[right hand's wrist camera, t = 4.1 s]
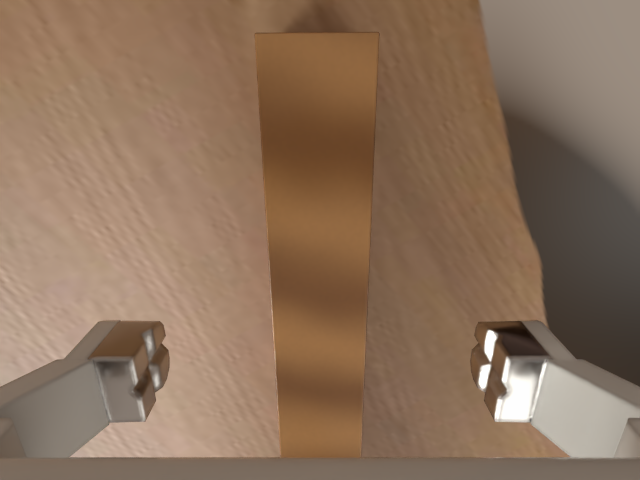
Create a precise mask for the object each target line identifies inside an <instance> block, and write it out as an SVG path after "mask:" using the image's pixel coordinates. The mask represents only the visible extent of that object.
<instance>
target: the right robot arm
mask: <svg viewBox="0 0 640 480" xmlns="http://www.w3.org/2000/svg"><path fill="white" fill-rule="evenodd" d="M165 336H166V335H165V330H164V325H163V324H162V323H161V322H160V321H120V320H112V321H100V322H98V323H97V324H96V325H95V326H94V327H93V328H92V329H91V330H90V331H89V332H88V334H87V335H86V336H85V337H84V338H83V339H82V340H81V341H80V342H79V343H78V344H77V345H76V347H75V348H74V349H73V350H72V351H71V352H70V353H69V354H68V355H67V356H66V357H65V359H64V360H55V361H53V362H51V363H49V364H47V365H45V366H43V367H41V368H39V369H36V370H34V371H32V372H30V373H28V374H26V375H24V376H22V377H20V378H18V379H16V380H14V381H11V382H9V383H7V384H5V385H3V386H1V387H0V480H640V387H639V386H637V385H635V384H632V383H630V382H628V381H626V380H624V379H622V378H620V377H618V376H616V375H614V374H612V373H610V372H608V371H605V370H603V369H601V368H599V367H597V366H595V365H593V364H591V363H589V362H587V361H585V360H576V359H575V358H574V356H573V355H572V354H571V353H570V352H569V351H568V350H567V349H566V348H565V347H564V345H563V344H562V343H561V342H560V341H559V340H558V339H557V338H556V337H555V336H554V335H553V334H552V332H551V331H550V330H549V329H548V328H547V327H546V326H545V325H544V324H543V323H542V322H540V321H538V320H529V321H501V322H478V324H477V326H476V329H475V334H474V336H475V338H476V339H477V341H478V344H477V345H476V346H475V347H474V348H473V349H472V352H471V360H470V363H471V373H472V376H473V380H474V382H475V384H476V386H477V387H478V388H479V389H481V390H482V391H484V392H485V397H484V402H485V403H486V405H487V407H488V409H489V411H490V413H491V415H492V417H493V419H494V421H495V422H529V423H531V425H532V426H534V427H535V428H536V429H537V430H539V431H540V432H541V433H542V434H543V435H545V436H546V437H547V438H548V439H549V440H551V441H552V442H553V443H554V444H556V445H557V446H558V447H559V448H560V449H562V450H563V451H564V452H565V453H567V454H568V455H569V456H570V457H553V458H277V457H192V458H72V457H70V456H71V455H72V454H74V453H75V452H76V451H77V450H78V449H80V448H81V447H82V446H83V445H85V444H86V443H87V442H88V441H89V440H91V439H92V438H93V437H94V436H96V435H97V434H98V433H99V432H100V431H102V430H103V429H104V428H105V427H107V426H108V425H109V423H111V422H145V421H146V419H147V417H148V415H149V413H150V411H151V409H152V407H153V405H154V403H155V402H156V397H155V392H156V391H158V390H159V389H161V388H162V387H163V386H164V384H165V382H166V379H167V376H168V371H169V352H168V349H167V348H166V347H165V346H164V345H163V344H162V341H163V339H164V338H165Z"/></svg>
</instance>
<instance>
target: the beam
mask: <svg viewBox="0 0 640 480" xmlns="http://www.w3.org/2000/svg"><path fill="white" fill-rule="evenodd" d="M255 47H256V64H257V80H258V97H259V113H260V129H261V146H262V162H263V179H264V195H265V211H266V228H267V244H268V261H269V277H270V293H271V310H272V326H273V343H274V359H275V375H276V392H277V408H278V425H279V441H280V457H281V458H361V447H362V424H363V401H364V378H365V354H366V331H367V308H368V285H369V261H370V238H371V215H372V192H373V168H374V145H375V122H376V99H377V76H378V52H379V32H302V33H255Z"/></svg>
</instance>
